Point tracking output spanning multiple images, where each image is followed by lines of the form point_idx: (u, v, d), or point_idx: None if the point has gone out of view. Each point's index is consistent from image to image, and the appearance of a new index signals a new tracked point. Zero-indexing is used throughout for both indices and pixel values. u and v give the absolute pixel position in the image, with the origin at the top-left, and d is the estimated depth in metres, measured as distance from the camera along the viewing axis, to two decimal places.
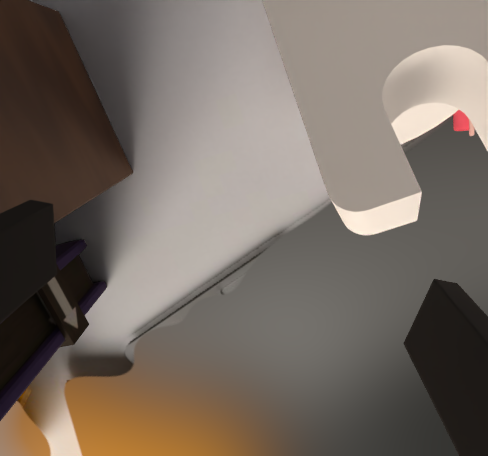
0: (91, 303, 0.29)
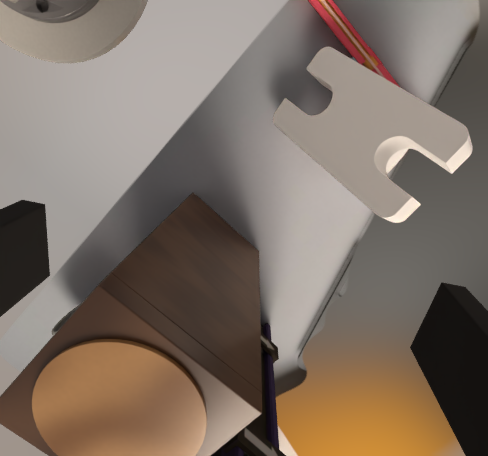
0: (270, 336, 0.47)
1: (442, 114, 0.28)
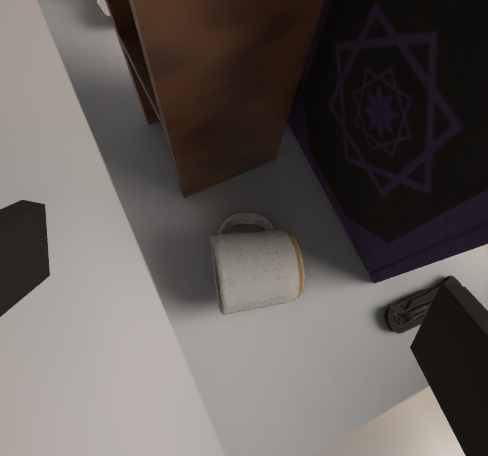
0: None
1: None
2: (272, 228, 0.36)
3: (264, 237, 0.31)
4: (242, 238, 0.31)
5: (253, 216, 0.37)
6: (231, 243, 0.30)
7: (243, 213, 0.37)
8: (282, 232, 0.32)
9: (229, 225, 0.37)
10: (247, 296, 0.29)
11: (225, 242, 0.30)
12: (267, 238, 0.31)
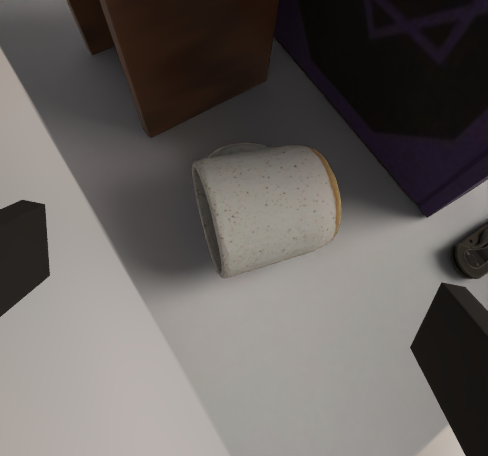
0: None
1: None
2: None
3: (271, 150, 0.20)
4: (239, 155, 0.20)
5: (248, 147, 0.26)
6: (223, 161, 0.19)
7: (234, 144, 0.26)
8: (296, 145, 0.21)
9: None
10: (259, 237, 0.18)
11: (214, 161, 0.19)
12: (276, 151, 0.20)
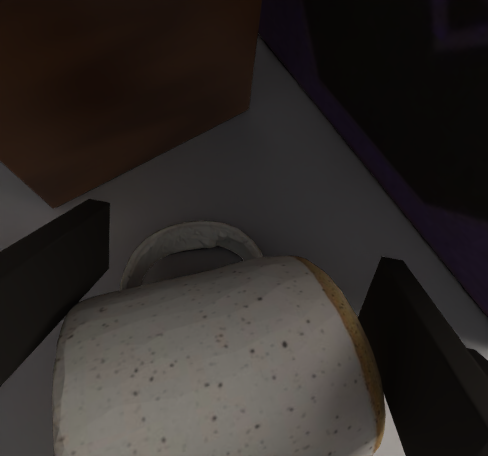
0: None
1: None
2: (257, 252, 0.14)
3: (233, 289, 0.09)
4: (162, 304, 0.09)
5: (208, 229, 0.16)
6: (119, 332, 0.08)
7: (183, 225, 0.15)
8: (288, 263, 0.11)
9: (153, 258, 0.15)
10: None
11: (98, 331, 0.08)
12: (244, 292, 0.09)
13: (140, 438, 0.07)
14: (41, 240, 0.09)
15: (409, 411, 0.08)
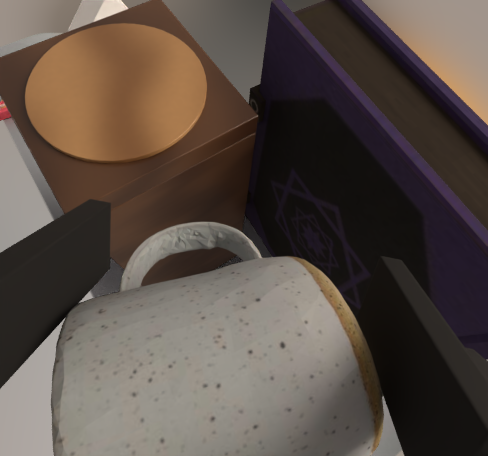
0: None
1: (81, 3, 0.42)
2: (255, 253, 0.14)
3: (232, 290, 0.10)
4: (161, 306, 0.09)
5: (207, 230, 0.16)
6: (118, 334, 0.08)
7: (182, 226, 0.16)
8: (286, 264, 0.11)
9: (153, 259, 0.15)
10: None
11: (97, 333, 0.09)
12: (242, 293, 0.09)
13: (139, 439, 0.07)
14: (43, 240, 0.09)
15: (408, 411, 0.08)
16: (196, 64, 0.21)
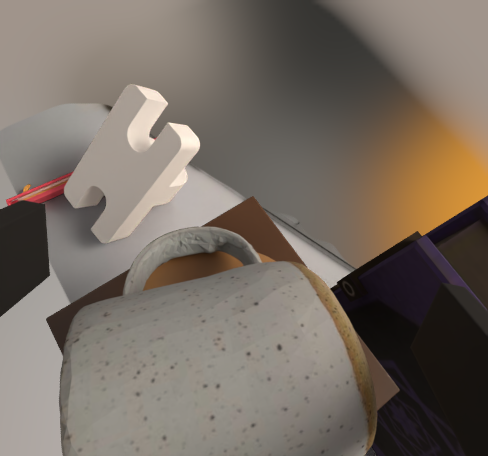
0: None
1: (117, 101, 0.38)
2: (255, 257, 0.15)
3: (231, 294, 0.10)
4: (163, 309, 0.10)
5: (208, 234, 0.16)
6: (122, 336, 0.09)
7: (184, 231, 0.16)
8: (284, 269, 0.11)
9: (155, 263, 0.16)
10: None
11: (103, 335, 0.09)
12: (241, 297, 0.10)
13: (142, 436, 0.08)
14: None
15: None
16: None
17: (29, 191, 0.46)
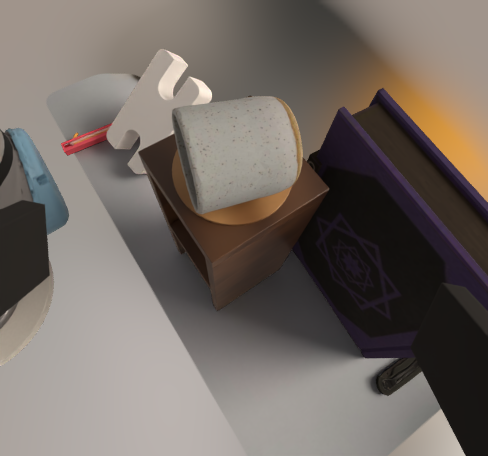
0: None
1: (151, 62, 0.51)
2: None
3: (240, 99, 0.23)
4: (212, 103, 0.23)
5: None
6: (197, 106, 0.22)
7: None
8: None
9: None
10: (228, 169, 0.21)
11: (189, 106, 0.22)
12: (244, 99, 0.23)
13: (209, 128, 0.21)
14: None
15: None
16: None
17: (78, 137, 0.59)
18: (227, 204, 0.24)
